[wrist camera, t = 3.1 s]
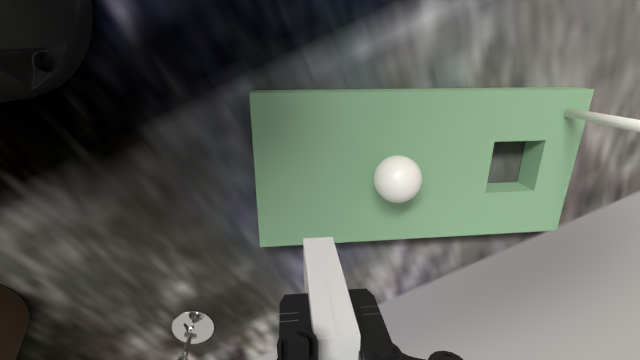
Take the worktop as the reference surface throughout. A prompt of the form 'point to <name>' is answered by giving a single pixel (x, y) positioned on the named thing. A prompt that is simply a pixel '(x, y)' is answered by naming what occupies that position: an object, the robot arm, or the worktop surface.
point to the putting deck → (424, 149)
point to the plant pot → (12, 323)
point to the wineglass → (192, 329)
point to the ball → (397, 179)
